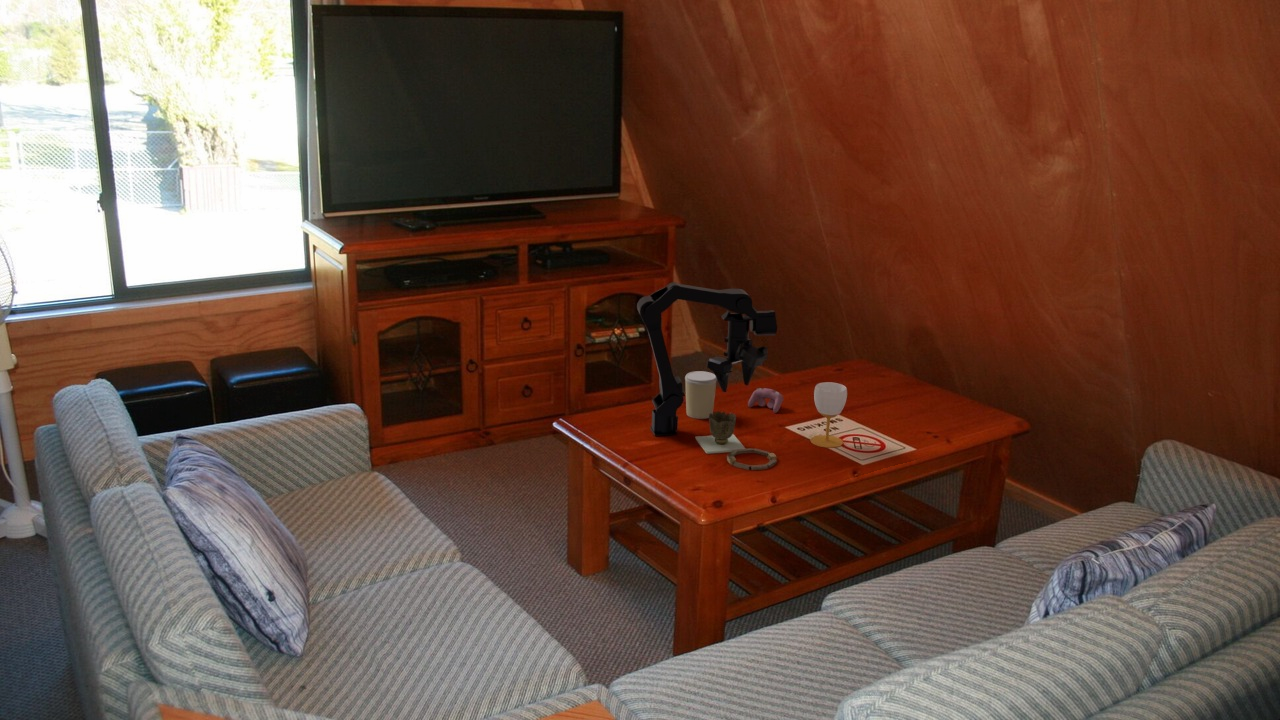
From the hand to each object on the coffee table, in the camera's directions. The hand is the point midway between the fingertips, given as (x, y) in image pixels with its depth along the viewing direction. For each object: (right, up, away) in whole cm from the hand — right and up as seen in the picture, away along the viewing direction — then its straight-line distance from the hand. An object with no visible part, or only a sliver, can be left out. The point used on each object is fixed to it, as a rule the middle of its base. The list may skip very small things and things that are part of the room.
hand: (735, 388), depth 294 cm
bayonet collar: (+3, -19, -17) cm, 25 cm away
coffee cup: (-9, -8, +15) cm, 20 cm away
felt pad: (-5, -15, -7) cm, 17 cm away
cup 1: (-5, -15, -7) cm, 17 cm away
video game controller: (+11, -7, +22) cm, 26 cm away
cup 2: (+25, -15, -3) cm, 29 cm away
